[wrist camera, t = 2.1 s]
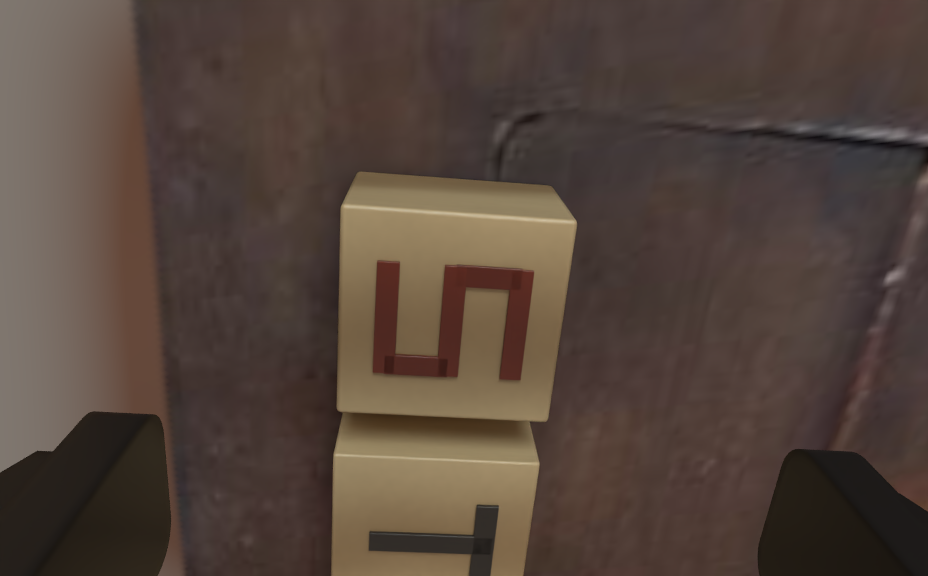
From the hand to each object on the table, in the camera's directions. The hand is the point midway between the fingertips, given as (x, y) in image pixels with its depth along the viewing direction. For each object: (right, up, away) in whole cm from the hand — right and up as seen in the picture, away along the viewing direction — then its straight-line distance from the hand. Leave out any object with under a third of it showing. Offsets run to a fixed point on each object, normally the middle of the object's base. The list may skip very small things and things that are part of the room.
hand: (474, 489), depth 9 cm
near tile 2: (-1, -2, +10) cm, 10 cm away
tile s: (-1, +3, +8) cm, 8 cm away
